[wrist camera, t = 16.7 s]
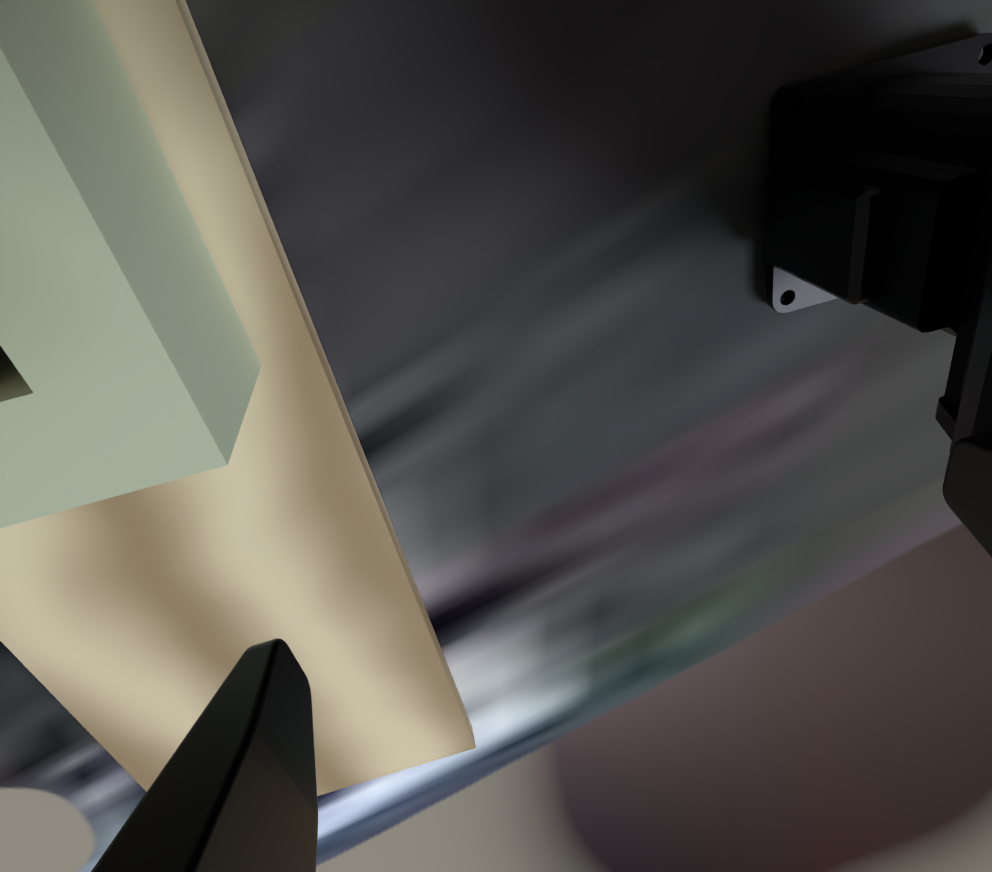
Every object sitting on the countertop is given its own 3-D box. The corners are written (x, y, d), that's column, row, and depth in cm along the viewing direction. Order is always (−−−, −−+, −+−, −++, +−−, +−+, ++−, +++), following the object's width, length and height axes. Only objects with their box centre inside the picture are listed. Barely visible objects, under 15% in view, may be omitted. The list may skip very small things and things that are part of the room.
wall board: (84, -256, 12) (-204, -588, 6) (472, 727, 29) (500, 900, 23) (-641, -94, 11) (-1793, -279, 5) (193, 811, 28) (147, 1011, 22)
